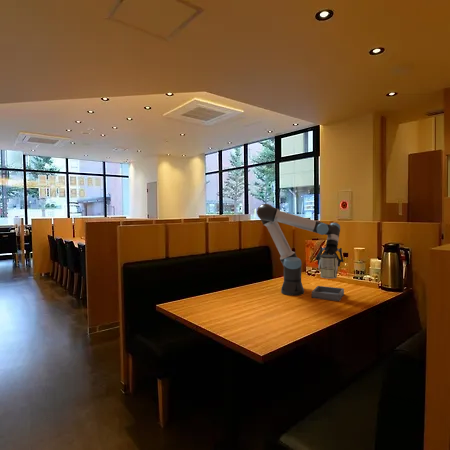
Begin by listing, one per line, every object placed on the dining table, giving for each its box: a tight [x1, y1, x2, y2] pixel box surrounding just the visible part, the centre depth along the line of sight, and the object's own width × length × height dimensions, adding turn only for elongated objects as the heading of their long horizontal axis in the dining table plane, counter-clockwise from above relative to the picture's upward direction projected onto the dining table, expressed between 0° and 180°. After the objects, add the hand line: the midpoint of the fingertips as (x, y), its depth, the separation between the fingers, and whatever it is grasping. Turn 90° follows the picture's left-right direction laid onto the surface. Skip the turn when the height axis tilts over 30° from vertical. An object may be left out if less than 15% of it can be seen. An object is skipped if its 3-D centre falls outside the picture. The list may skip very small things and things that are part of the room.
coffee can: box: [320, 253, 338, 280], centre depth 205 cm, size 10×10×14 cm
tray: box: [311, 285, 345, 302], centre depth 206 cm, size 17×17×4 cm
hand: (327, 269), depth 202 cm, fingers closed on coffee can, 10 cm apart
